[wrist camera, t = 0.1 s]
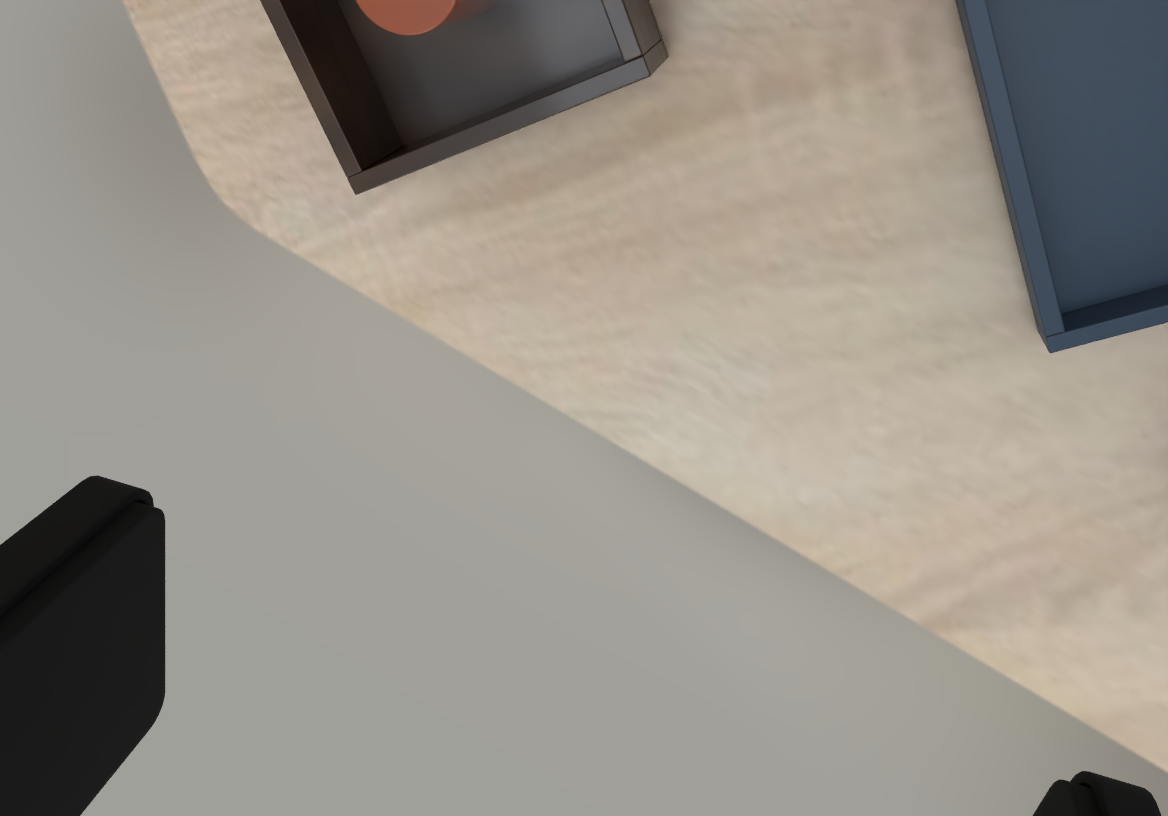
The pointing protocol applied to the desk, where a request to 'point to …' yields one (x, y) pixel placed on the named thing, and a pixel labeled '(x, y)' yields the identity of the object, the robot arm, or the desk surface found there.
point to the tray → (1080, 155)
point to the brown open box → (456, 74)
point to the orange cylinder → (422, 13)
